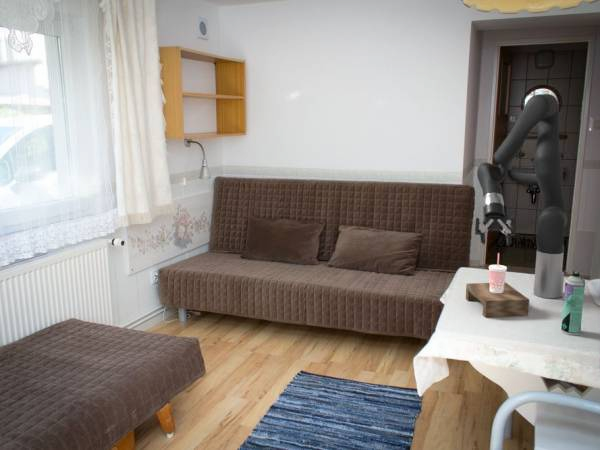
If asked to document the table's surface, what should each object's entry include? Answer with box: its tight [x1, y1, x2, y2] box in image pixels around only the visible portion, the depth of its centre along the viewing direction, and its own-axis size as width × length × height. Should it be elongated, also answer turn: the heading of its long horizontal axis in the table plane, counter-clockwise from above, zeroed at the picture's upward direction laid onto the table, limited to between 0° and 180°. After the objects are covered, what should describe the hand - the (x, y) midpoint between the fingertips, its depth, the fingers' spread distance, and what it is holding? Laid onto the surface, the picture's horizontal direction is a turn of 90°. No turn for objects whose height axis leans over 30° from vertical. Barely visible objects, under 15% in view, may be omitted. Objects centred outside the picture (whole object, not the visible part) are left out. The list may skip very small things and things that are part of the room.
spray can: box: [560, 270, 586, 336], centre depth 174 cm, size 6×6×20 cm
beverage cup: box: [488, 252, 508, 293], centre depth 196 cm, size 6×6×14 cm
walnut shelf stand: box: [465, 281, 530, 319], centre depth 198 cm, size 15×19×6 cm
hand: (496, 243), depth 201 cm, fingers open, 8 cm apart
